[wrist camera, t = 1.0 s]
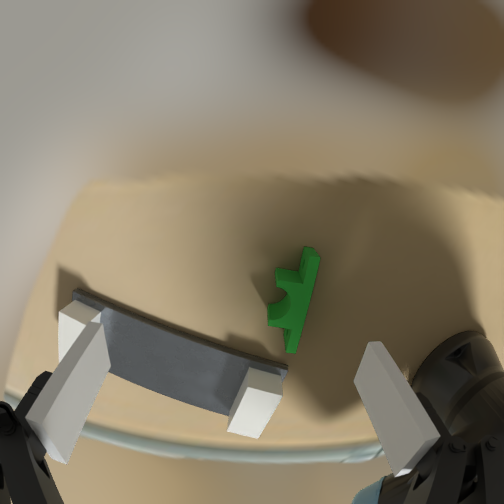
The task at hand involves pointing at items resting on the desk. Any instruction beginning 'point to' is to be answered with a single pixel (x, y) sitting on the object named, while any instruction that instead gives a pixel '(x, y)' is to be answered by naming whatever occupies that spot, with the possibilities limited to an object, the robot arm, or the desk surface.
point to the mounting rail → (179, 363)
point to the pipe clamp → (294, 298)
